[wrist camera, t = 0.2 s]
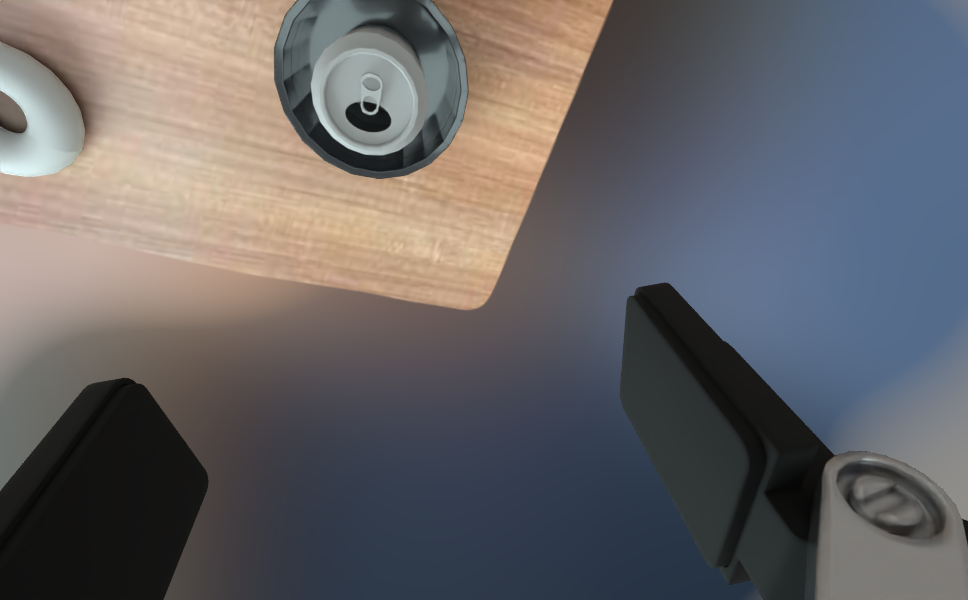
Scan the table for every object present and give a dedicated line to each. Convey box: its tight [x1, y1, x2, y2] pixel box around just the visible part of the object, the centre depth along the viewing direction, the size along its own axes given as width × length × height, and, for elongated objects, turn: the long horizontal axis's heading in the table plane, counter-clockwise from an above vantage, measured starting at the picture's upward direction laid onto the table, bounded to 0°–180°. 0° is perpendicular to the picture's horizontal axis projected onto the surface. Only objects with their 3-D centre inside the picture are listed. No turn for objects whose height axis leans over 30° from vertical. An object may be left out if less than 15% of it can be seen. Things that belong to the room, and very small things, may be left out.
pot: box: [274, 0, 469, 179], centre depth 37 cm, size 14×14×6 cm
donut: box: [0, 42, 85, 177], centre depth 35 cm, size 10×4×10 cm
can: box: [311, 24, 428, 155], centre depth 34 cm, size 8×8×12 cm
